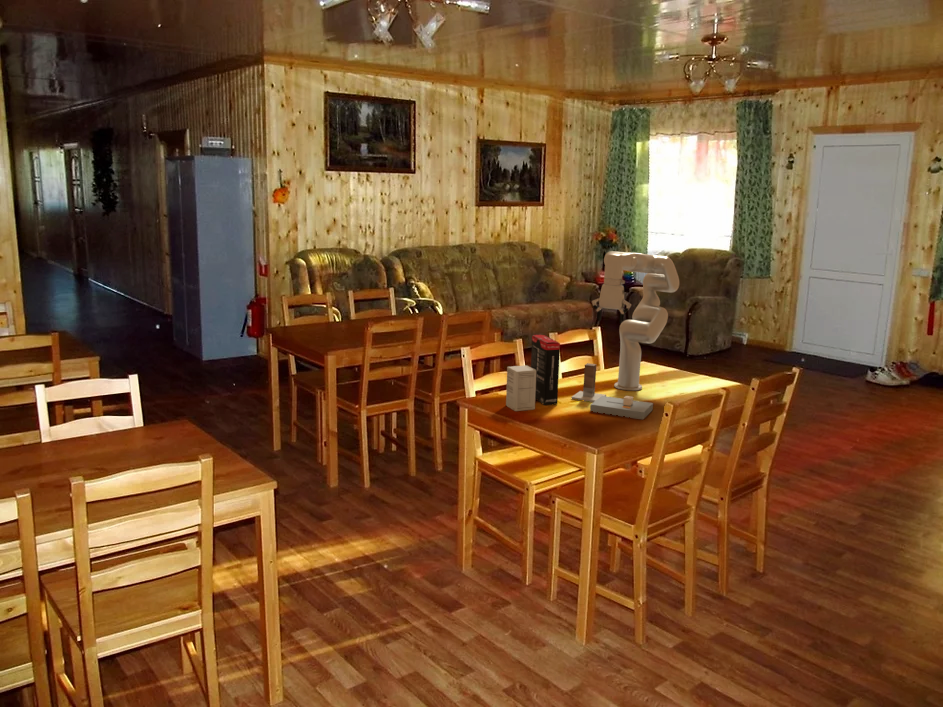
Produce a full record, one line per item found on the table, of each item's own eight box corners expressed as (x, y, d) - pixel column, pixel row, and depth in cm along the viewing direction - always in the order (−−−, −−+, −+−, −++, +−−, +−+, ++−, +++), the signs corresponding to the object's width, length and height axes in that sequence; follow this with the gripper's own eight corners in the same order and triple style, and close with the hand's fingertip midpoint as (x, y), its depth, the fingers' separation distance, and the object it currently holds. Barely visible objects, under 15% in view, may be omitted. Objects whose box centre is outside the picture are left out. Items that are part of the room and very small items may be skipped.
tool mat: (579, 393, 359) (580, 391, 358) (606, 396, 353) (606, 394, 353) (571, 399, 348) (571, 397, 348) (597, 403, 343) (598, 401, 343)
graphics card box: (558, 405, 338) (562, 341, 332) (543, 406, 336) (546, 342, 330) (542, 394, 354) (545, 334, 348) (528, 395, 352) (531, 334, 346)
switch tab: (625, 402, 333) (626, 395, 333) (632, 403, 332) (633, 396, 331) (623, 404, 330) (623, 397, 329) (630, 405, 328) (630, 398, 328)
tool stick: (585, 394, 353) (587, 363, 350) (594, 395, 351) (596, 364, 349) (582, 396, 350) (584, 364, 347) (591, 397, 348) (593, 366, 345)
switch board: (601, 402, 344) (602, 395, 344) (652, 410, 335) (653, 402, 334) (590, 411, 330) (590, 404, 329) (643, 419, 321) (643, 412, 320)
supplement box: (525, 403, 339) (527, 364, 335) (535, 409, 330) (537, 369, 327) (505, 405, 335) (506, 366, 331) (514, 411, 327) (516, 371, 323)
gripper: (634, 283, 345) (631, 322, 348) (596, 279, 352) (593, 318, 356) (630, 284, 338) (627, 324, 342) (590, 281, 345) (588, 320, 349)
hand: (610, 321), depth 349 cm, fingers open, 9 cm apart
